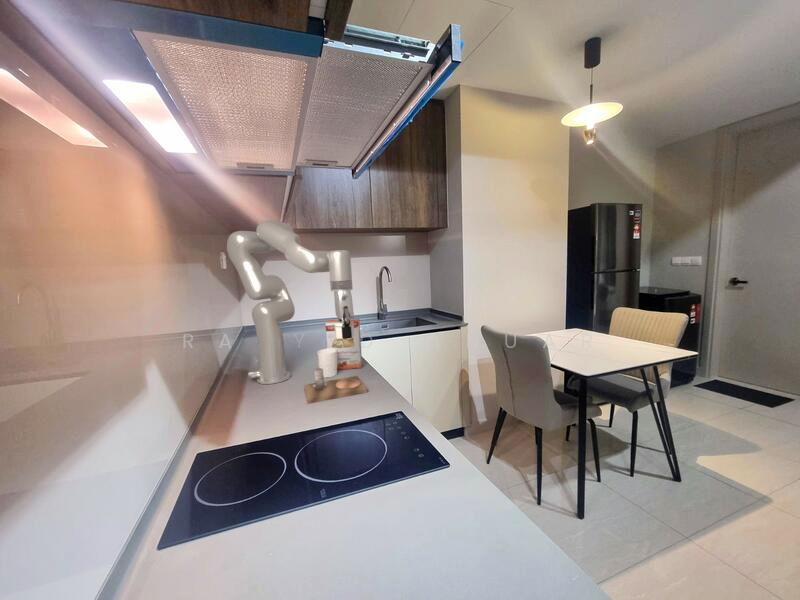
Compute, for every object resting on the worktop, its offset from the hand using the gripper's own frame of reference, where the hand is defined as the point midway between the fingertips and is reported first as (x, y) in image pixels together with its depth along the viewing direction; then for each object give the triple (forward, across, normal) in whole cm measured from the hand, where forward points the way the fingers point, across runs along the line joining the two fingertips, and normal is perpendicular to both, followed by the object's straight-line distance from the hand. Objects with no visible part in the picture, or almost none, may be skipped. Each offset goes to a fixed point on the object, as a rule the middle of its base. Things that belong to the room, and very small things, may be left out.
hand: (345, 335), depth 113 cm
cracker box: (+20, +24, -4) cm, 31 cm away
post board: (+19, 0, +5) cm, 20 cm away
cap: (0, 0, 0) cm, 0 cm away
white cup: (+20, +18, +5) cm, 27 cm away
